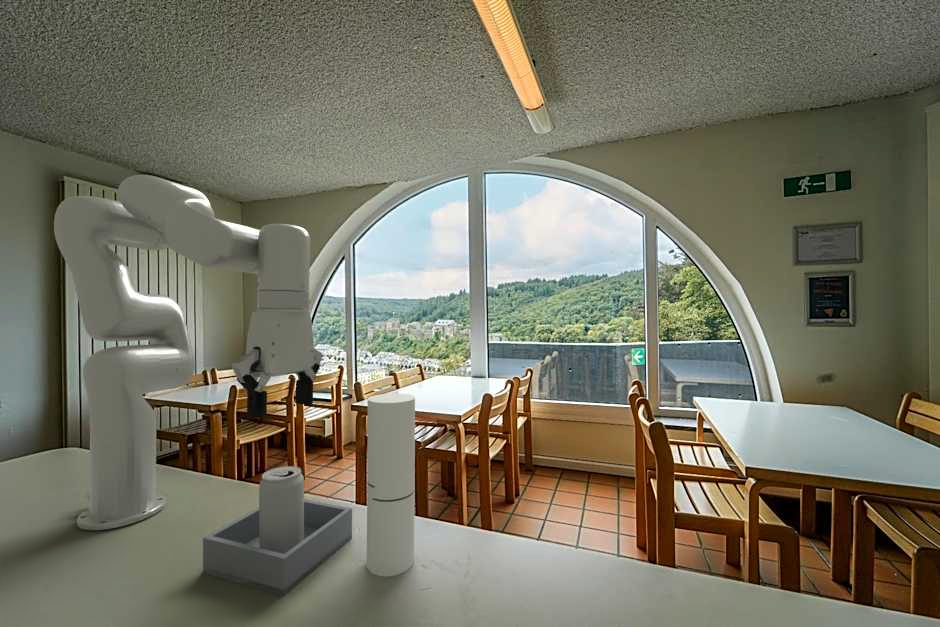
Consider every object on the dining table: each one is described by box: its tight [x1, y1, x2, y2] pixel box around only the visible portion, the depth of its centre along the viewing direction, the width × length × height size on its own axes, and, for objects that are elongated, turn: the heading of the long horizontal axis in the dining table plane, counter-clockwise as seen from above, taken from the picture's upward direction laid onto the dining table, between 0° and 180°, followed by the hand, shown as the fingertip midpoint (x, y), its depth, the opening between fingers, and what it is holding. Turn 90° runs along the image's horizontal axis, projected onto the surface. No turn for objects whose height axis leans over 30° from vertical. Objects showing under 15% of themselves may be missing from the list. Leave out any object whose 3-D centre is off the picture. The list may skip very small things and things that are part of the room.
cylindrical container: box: [366, 393, 416, 578], centre depth 62 cm, size 7×7×25 cm
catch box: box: [202, 498, 353, 597], centre depth 63 cm, size 15×15×5 cm
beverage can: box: [258, 465, 305, 554], centre depth 64 cm, size 6×6×12 cm
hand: (282, 410), depth 64 cm, fingers open, 9 cm apart
